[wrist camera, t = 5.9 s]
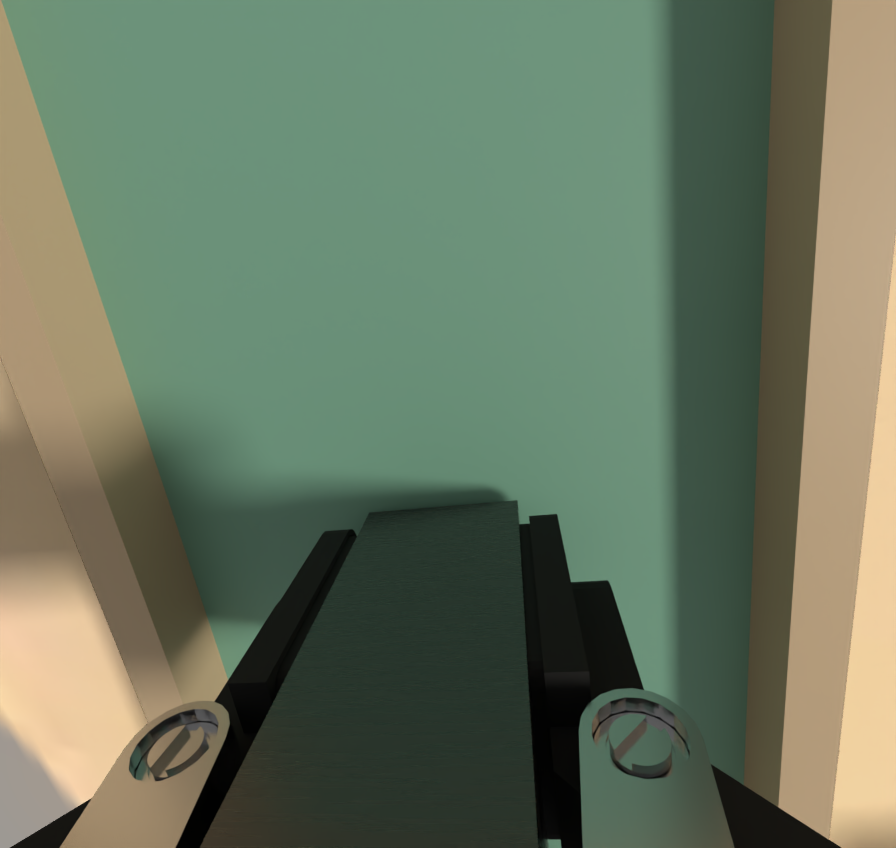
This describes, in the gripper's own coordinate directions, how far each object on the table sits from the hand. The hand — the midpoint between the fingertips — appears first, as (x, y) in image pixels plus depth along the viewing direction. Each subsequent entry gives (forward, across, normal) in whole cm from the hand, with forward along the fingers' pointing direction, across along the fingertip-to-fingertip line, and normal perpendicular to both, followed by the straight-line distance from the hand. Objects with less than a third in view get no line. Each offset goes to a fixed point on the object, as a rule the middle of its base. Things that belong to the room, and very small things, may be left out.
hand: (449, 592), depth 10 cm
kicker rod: (+1, 0, +5) cm, 5 cm away
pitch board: (+3, 0, -1) cm, 3 cm away
